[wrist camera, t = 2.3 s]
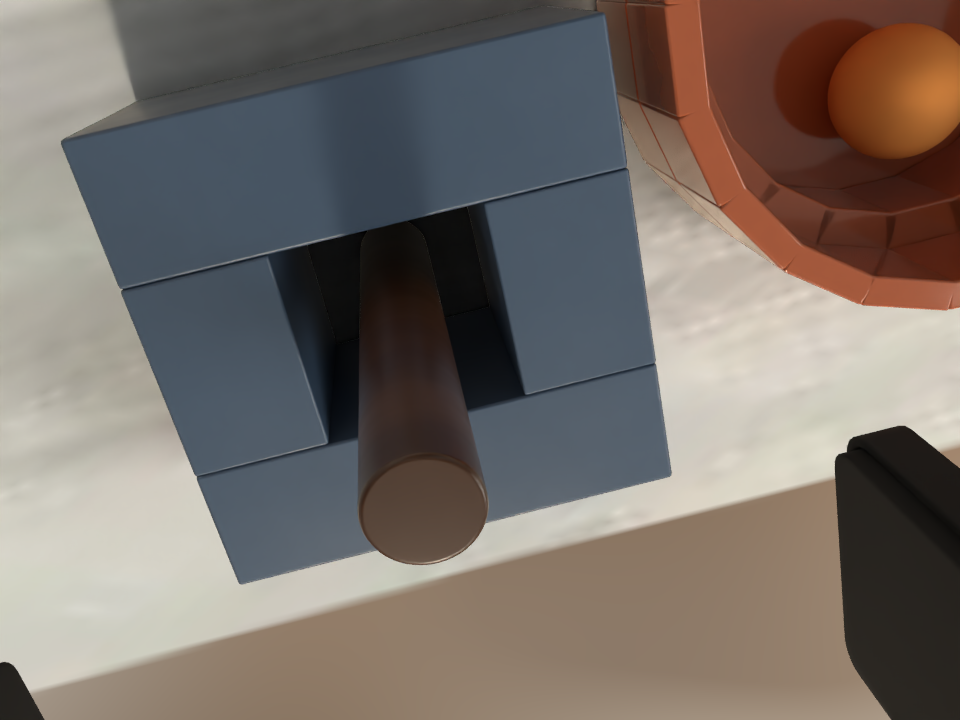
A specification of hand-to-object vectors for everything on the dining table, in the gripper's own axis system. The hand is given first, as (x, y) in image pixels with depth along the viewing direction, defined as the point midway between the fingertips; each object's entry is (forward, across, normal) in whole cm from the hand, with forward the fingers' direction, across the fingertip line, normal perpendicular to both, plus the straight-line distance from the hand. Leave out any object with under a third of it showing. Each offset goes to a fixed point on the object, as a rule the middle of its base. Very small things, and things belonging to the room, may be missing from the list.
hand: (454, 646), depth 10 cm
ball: (+13, -13, -2) cm, 19 cm away
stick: (+15, 0, 0) cm, 15 cm away
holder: (+15, 0, 0) cm, 15 cm away
